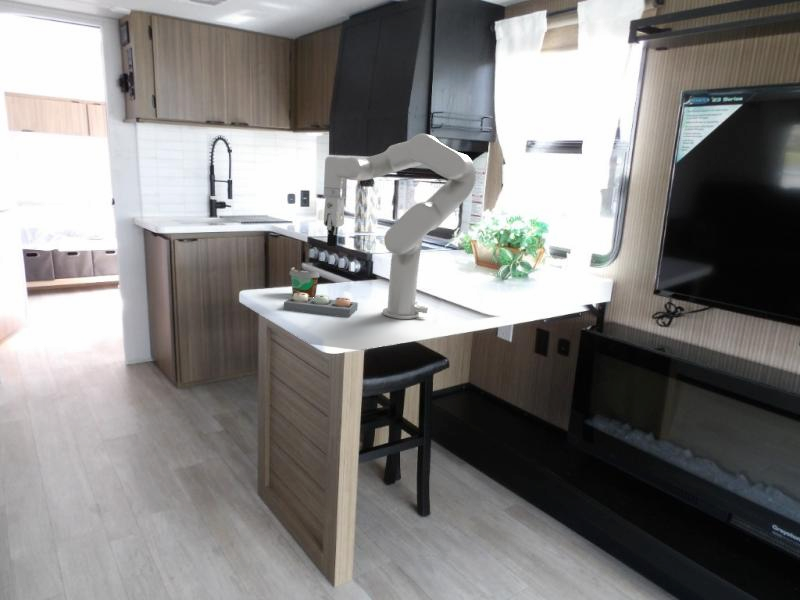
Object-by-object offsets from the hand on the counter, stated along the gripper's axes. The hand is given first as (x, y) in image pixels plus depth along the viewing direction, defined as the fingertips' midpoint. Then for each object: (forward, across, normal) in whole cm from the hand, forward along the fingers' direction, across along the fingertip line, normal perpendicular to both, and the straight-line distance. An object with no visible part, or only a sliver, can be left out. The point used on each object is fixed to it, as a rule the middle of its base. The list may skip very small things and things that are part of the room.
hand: (331, 245), depth 199 cm
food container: (+21, +6, +13) cm, 26 cm away
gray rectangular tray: (+21, -10, 0) cm, 23 cm away
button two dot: (+20, -10, +8) cm, 23 cm away
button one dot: (+19, -10, 0) cm, 22 cm away
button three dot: (+19, -9, -8) cm, 23 cm away
